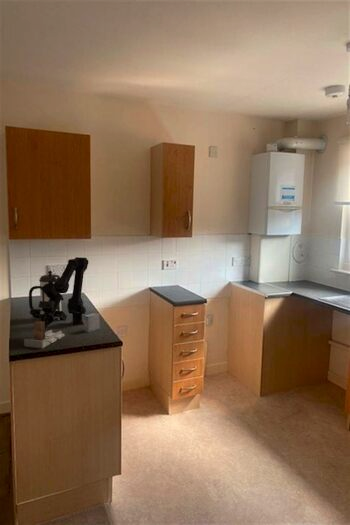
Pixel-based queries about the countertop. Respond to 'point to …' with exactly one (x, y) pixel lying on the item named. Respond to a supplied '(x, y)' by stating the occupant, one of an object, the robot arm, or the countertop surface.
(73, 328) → the countertop surface
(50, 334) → the track
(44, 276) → the coffee press
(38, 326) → the slider
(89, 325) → the medicine box
